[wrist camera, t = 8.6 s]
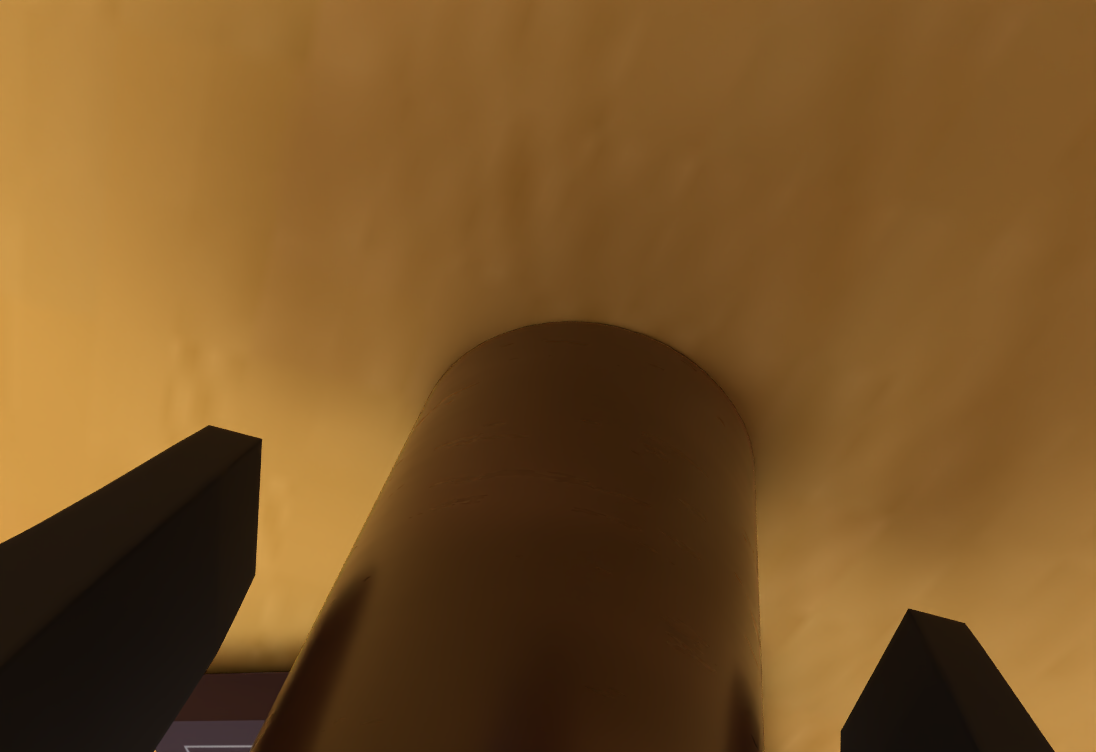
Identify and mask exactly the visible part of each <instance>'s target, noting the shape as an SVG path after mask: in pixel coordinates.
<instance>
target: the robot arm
mask: <svg viewBox="0 0 1096 752" xmlns="http://www.w3.org/2000/svg"><path fill="white" fill-rule="evenodd" d="M261 449H262V439H260V438H256V437H252V436H248V435H245V434H241V433H237V432H233V431H229V430H226V429H222V428H218V427H214V426H210V425H208V426H207V427H205V428H203V429H201V430H200V431H198V432H196V433H195V434H193V435H191V436H189V437H187V438H186V439H184V440H182V441H180V442H179V443H177V444H175V445H173V446H172V447H170V448H168V449H167V450H165V451H163V452H162V453H160V454H158V455H157V456H155V457H153V458H152V459H150V460H148V461H147V462H145V463H143V464H141V465H140V466H138V467H136V468H135V469H133V470H131V471H130V472H128V473H126V474H125V475H123V476H121V477H120V478H118V479H116V480H114V481H113V482H111V483H109V484H108V485H106V486H104V487H103V488H101V489H99V490H97V491H96V492H94V493H92V494H90V495H89V496H87V497H85V498H83V499H82V500H80V501H78V502H76V503H74V504H73V505H71V506H69V507H67V508H66V509H64V510H62V511H60V512H59V513H57V514H55V515H53V516H51V517H50V518H48V519H46V520H44V521H43V522H41V523H39V524H37V525H35V526H34V527H32V528H30V529H28V530H26V531H24V532H23V533H21V534H19V535H17V536H15V537H13V538H11V539H9V540H7V541H5V542H3V543H1V544H0V752H154V750H155V749H156V747H157V746H158V744H159V743H160V741H161V740H162V738H163V737H164V735H165V734H166V732H167V731H168V729H169V728H170V726H171V724H172V723H173V721H174V720H175V718H176V717H177V715H178V714H179V712H180V711H181V709H182V707H183V706H184V704H185V703H186V701H187V700H188V698H189V697H190V695H191V694H192V692H193V690H194V689H195V687H196V686H197V684H198V683H199V681H200V680H201V678H202V676H203V675H204V673H205V672H206V670H207V669H208V667H209V665H210V664H211V662H212V661H213V659H214V657H215V656H216V654H217V652H218V650H219V648H220V646H221V644H222V642H223V640H224V638H225V636H226V634H227V632H228V630H229V628H230V626H231V624H232V622H233V620H234V618H235V616H236V614H237V612H238V610H239V608H240V606H241V604H242V602H243V600H244V597H245V595H246V593H247V591H248V589H249V587H250V585H251V583H252V581H253V578H254V576H255V569H256V549H257V529H258V509H259V489H260V469H261ZM840 752H1055V751H1054V750H1053V749H1052V747H1051V746H1050V744H1049V743H1048V741H1047V740H1046V739H1045V737H1044V736H1043V734H1042V733H1041V731H1040V730H1039V728H1038V727H1037V726H1036V724H1035V723H1034V721H1033V720H1032V718H1031V717H1030V715H1029V714H1028V713H1027V711H1026V710H1025V708H1024V707H1023V705H1022V704H1021V702H1020V701H1019V699H1018V698H1017V697H1016V695H1015V694H1014V692H1013V691H1012V689H1011V688H1010V686H1009V685H1008V683H1007V682H1006V681H1005V679H1004V678H1003V676H1002V675H1001V673H1000V672H999V670H998V669H997V667H996V666H995V665H994V663H993V662H992V660H991V659H990V657H989V656H988V654H987V653H986V652H985V650H984V649H983V647H982V646H981V645H980V643H979V642H978V640H977V639H976V638H975V636H974V635H973V634H972V632H971V631H970V629H969V628H968V627H967V625H966V624H965V623H962V622H958V621H954V620H950V619H947V618H943V617H939V616H935V615H931V614H928V613H924V612H920V611H916V610H912V609H908V610H907V612H906V614H905V616H904V618H903V619H902V621H901V623H900V625H899V627H898V628H897V630H896V632H895V634H894V636H893V638H892V639H891V641H890V643H889V645H888V647H887V648H886V650H885V652H884V654H883V656H882V657H881V659H880V661H879V663H878V665H877V667H876V668H875V670H874V672H873V674H872V676H871V677H870V679H869V681H868V683H867V685H866V686H865V688H864V690H863V692H862V694H861V696H860V697H859V699H858V701H857V703H856V705H855V706H854V708H853V710H852V712H851V714H850V715H849V717H848V719H847V721H846V723H845V725H844V726H843V728H842V730H841V751H840Z"/></svg>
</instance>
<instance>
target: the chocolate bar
mask: <svg viewBox="0 0 1096 752" xmlns="http://www.w3.org/2000/svg"><path fill="white" fill-rule="evenodd" d="M288 674H289V672H269V673H229V674H204V675H203V676H202V678H201V680H200V681H199V683H198V684H197V686H196V687H195V689H194V690H193V692H192V694H191V695H190V697H189V698H188V700H187V701H186V703H185V704H184V706H183V707H182V709H181V711H180V712H179V714H178V715H177V717H176V718H175V720H174V721H173V723H172V724H171V726H170V728H169V729H168V731H167V732H166V734H165V735H164V737H163V738H162V740H161V741H160V743H159V744H158V746H157V747H156V749H155V750H156V752H250V750H251V748H252V746H253V744H254V742H255V740H256V738H257V736H258V734H259V732H260V730H261V728H262V726H263V724H264V722H265V720H266V718H267V716H268V714H269V712H270V710H271V708H272V706H273V704H274V702H275V700H276V698H277V696H278V694H279V692H280V690H281V688H282V686H283V684H284V682H285V680H286V678H287V676H288Z"/></svg>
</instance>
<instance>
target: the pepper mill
mask: <svg viewBox="0 0 1096 752" xmlns="http://www.w3.org/2000/svg"><path fill="white" fill-rule="evenodd" d="M250 752H764V727H763V698H762V669H761V640H760V611H759V582H758V553H757V524H756V495H755V466H754V458H753V452H752V447H751V443H750V440H749V437H748V434H747V432H746V429H745V426H744V424H743V422H742V420H741V418H740V416H739V414H738V413H737V411H736V409H735V407H734V405H733V404H732V403H731V401H730V400H729V399H728V397H727V396H726V395H725V393H724V392H723V391H722V389H721V388H720V387H719V386H718V385H717V384H716V383H715V382H714V381H713V380H712V379H711V378H710V377H709V376H708V375H707V374H706V373H705V372H704V371H703V370H702V369H700V368H699V367H698V366H697V365H695V364H694V363H693V362H691V361H690V360H689V359H688V358H686V357H685V356H683V355H681V354H680V353H678V352H676V351H675V350H673V349H672V348H670V347H668V346H667V345H665V344H662V343H660V342H658V341H656V340H653V339H651V338H649V337H647V336H645V335H642V334H638V333H635V332H632V331H629V330H626V329H623V328H619V327H613V326H608V325H603V324H598V323H586V322H551V323H544V324H538V325H532V326H526V327H523V328H519V329H516V330H513V331H509V332H506V333H503V334H501V335H499V336H497V337H494V338H492V339H490V340H488V341H485V342H484V343H482V344H480V345H479V346H477V347H476V348H474V349H472V350H471V351H469V352H468V353H466V354H465V355H464V356H463V357H461V358H460V359H459V360H458V361H457V362H456V363H454V364H453V365H452V366H451V367H450V368H449V369H448V370H447V372H446V373H445V374H444V375H443V376H442V377H441V379H440V380H439V381H438V383H437V384H436V386H435V387H434V389H433V391H432V392H431V394H430V395H429V397H428V399H427V401H426V403H425V405H424V407H423V409H422V411H421V413H420V415H419V417H418V419H417V421H416V423H415V425H414V427H413V429H412V431H411V433H410V435H409V437H408V439H407V441H406V443H405V445H404V447H403V449H402V451H401V453H400V454H399V456H398V458H397V460H396V462H395V464H394V466H393V468H392V470H391V472H390V474H389V476H388V478H387V480H386V482H385V484H384V486H383V488H382V490H381V492H380V494H379V496H378V498H377V500H376V502H375V504H374V506H373V508H372V510H371V512H370V514H369V516H368V518H367V520H366V522H365V524H364V526H363V528H362V530H361V532H360V534H359V536H358V538H357V540H356V542H355V544H354V546H353V548H352V550H351V552H350V553H349V555H348V557H347V559H346V561H345V563H344V565H343V567H342V569H341V571H340V573H339V575H338V577H337V579H336V581H335V583H334V585H333V587H332V589H331V591H330V593H329V595H328V597H327V599H326V601H325V603H324V605H323V607H322V609H321V611H320V613H319V615H318V617H317V619H316V621H315V623H314V625H313V627H312V629H311V631H310V633H309V635H308V637H307V639H306V641H305V643H304V645H303V647H302V649H301V651H300V653H299V654H298V656H297V658H296V660H295V662H294V664H293V666H292V668H291V670H290V672H289V674H288V676H287V678H286V680H285V682H284V684H283V686H282V688H281V690H280V692H279V694H278V696H277V698H276V700H275V702H274V704H273V706H272V708H271V710H270V712H269V714H268V716H267V718H266V720H265V722H264V724H263V726H262V728H261V730H260V732H259V734H258V736H257V738H256V740H255V742H254V744H253V746H252V748H251V750H250Z"/></svg>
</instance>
